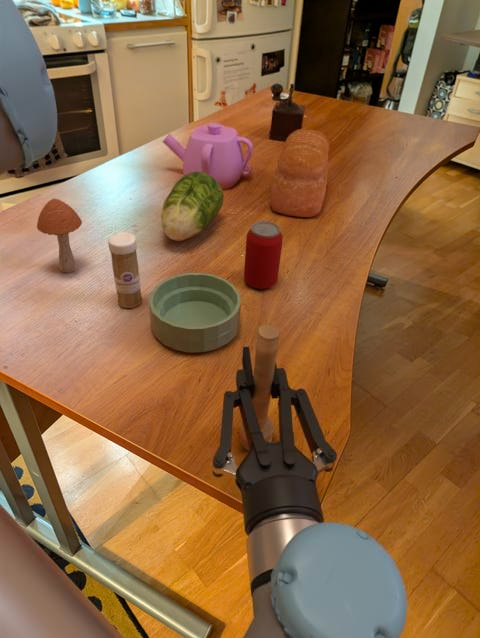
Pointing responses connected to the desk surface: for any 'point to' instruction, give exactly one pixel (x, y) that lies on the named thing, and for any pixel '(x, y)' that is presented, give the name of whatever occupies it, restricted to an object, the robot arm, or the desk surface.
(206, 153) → the teapot
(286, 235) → the desk surface
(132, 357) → the desk surface
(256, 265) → the beverage can
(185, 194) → the lettuce
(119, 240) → the sprinkles bottle
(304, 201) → the bread
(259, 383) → the wooden pestle
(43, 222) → the mushroom
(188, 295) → the bowl
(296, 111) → the coffee grinder
